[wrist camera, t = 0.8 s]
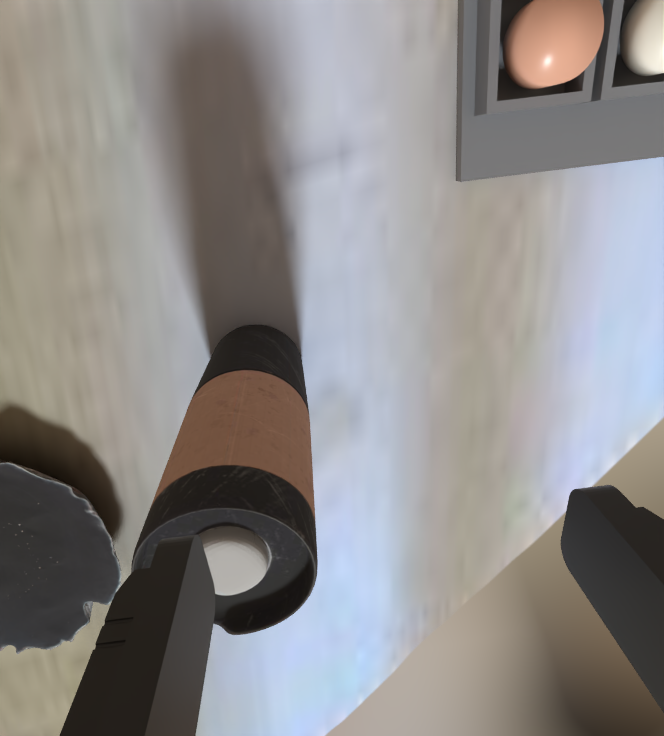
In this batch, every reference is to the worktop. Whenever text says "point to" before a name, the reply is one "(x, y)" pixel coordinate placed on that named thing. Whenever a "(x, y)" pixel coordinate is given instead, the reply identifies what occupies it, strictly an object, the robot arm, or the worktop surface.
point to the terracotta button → (552, 41)
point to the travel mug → (244, 482)
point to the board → (49, 560)
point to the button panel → (549, 103)
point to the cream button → (644, 38)
